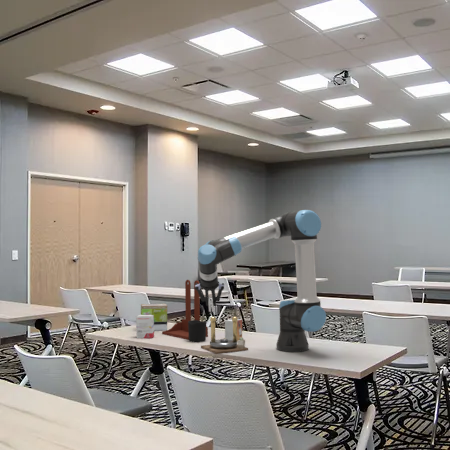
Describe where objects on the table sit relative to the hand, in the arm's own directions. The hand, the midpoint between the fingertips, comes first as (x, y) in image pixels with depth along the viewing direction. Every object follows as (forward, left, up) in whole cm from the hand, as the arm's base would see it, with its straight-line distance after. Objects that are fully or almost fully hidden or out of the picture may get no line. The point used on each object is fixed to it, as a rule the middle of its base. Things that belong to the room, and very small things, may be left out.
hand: (211, 309), depth 246 cm
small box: (+24, -25, -20) cm, 40 cm away
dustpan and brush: (+50, -8, -20) cm, 55 cm away
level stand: (+6, -10, -20) cm, 23 cm away
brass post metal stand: (+6, -10, -19) cm, 22 cm away
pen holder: (+32, -8, -20) cm, 39 cm away
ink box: (+55, +12, -20) cm, 60 cm away
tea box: (+77, -1, -20) cm, 80 cm away
